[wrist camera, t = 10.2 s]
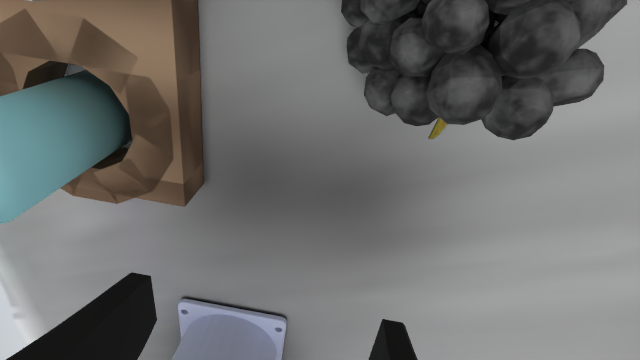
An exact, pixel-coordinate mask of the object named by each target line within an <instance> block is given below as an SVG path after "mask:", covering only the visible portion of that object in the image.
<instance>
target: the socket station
mask: <svg viewBox="0 0 640 360" xmlns="http://www.w3.org/2000/svg"><path fill="white" fill-rule="evenodd" d="M67 64H74V65H80V66H82V67H83V68H85V69H86V70H88V71H89V72H91V73H92V74H93V75H95V76H96V77H98V78H99V79H101V80H102V81H104V82H105V83H106V84H108V85H109V86H110V87H111V88H112V90H113V91H114V93H115V94H116V96H117V97H118V99H119V100H120V102H121V103H122V105H123V106H124V108H125V109H126V111H127V112H128V114H129V120H130V127H131V134H132V141H133V142H132V144H131V146H130V148H129V149H124V148H119V149H118V150H116V151H115V152H113V153H112V154H110V155H109V156H107V157H106V158H104V159H103V160H101V161H100V162H98V163H97V164H95V165H94V166H92V167H91V168H89V169H88V170H86V171H85V172H83V173H82V174H80V175H79V176H77V177H76V178H74V179H73V180H71V181H70V182H68V183H67V184H65V185H64V186H62V187H61V189H63V190H65V191H66V192H68V193H69V194H71V195H73V196H78V197H83V198H89V199H94V200H100V201H106V202H111V203H117V204H118V203H121V202H124V201H126V200H129V199H132V198H139V199H145V200H150V201H156V202H161V203H167V204H172V205H178V206H183V207H185V206H186V205H187V203H188V202H189V201H190V200H191V199H192V197H193V196H194V195H195V194H196V192H197V191H198V190H199V189H200V187H201V186H202V185H203V184H204V177H203V146H202V115H201V84H200V52H199V21H198V0H0V96H3V95H7V94H10V93H13V92H16V91H20V90H23V89H26V88H29V87H33V86H36V85H39V84H42V83H46V82H49V81H52V80H55V79H59V78H62V77H63V75H64V72H65V70H66V67H67Z"/></svg>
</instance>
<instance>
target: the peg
mask: <svg viewBox="0 0 640 360" xmlns="http://www.w3.org/2000/svg"><path fill="white" fill-rule="evenodd" d="M131 140H132V134H131V127H130V120H129V114H128V112H127V111H126V109H125V108H124V106H123V105H122V103H121V102H120V100H119V99H118V97H117V96H116V94H115V93H114V91H113V90H112V88H111V87H110V86H109V85H108V84H106V83H105V82H104V81H102V80H101V79H99V78H98V77H96V76H95V75H93V74H92V73H91V72H89V71H88V70H85V71H81V72H78V73H75V74H72V75H68V76H65V77H62V78H59V79H55V80H52V81H49V82H46V83H42V84H39V85H36V86H33V87H29V88H26V89H23V90H20V91H16V92H13V93H10V94H7V95H3V96H0V224H2V223H6V222H9V221H11V220H13V219H14V218H16V217H17V216H19V215H20V214H22V213H23V212H25V211H26V210H28V209H29V208H31V207H32V206H34V205H35V204H37V203H38V202H40V201H41V200H43V199H44V198H46V197H47V196H49V195H50V194H52V193H53V192H55V191H56V190H58V189H59V188H61V187H62V186H64V185H65V184H67V183H68V182H70V181H71V180H73V179H74V178H76V177H77V176H79V175H80V174H82V173H83V172H85V171H86V170H88V169H89V168H91V167H92V166H94V165H95V164H97V163H98V162H100V161H101V160H103V159H104V158H106V157H107V156H109V155H110V154H112V153H113V152H115V151H116V150H118V149H119V148H121V147H122V146H124V145H125V144H127V143H128V142H130V141H131Z"/></svg>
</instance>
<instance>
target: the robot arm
mask: <svg viewBox="0 0 640 360" xmlns="http://www.w3.org/2000/svg"><path fill="white" fill-rule="evenodd" d="M178 314H179V324H180V335H181V342H180V344H179V346H178V347H177V349H176V351H175V353H174V355H173V357H172V359H171V360H282V354H283V347H284V340H285V332H286V325H287V321H286V319H285V318H283V317H280V316H275V315H270V314H264V313H259V312H254V311H248V310H243V309H238V308H232V307H227V306H222V305H216V304H211V303H205V302H200V301H195V300H189V299H181V300H180V302H179V303H178ZM156 321H157V317H156V310H155V303H154V296H153V289H152V282H151V276H148V275H142V274H137V273H130V274H129V275H127V276H126V277H124V278H123V279H122V280H120V281H119V282H117V283H116V284H115V285H113V286H112V287H111V288H109V289H108V290H107V291H105V292H104V293H102V294H101V295H100V296H98V297H97V298H96V299H94V300H93V301H92V302H90V303H89V304H87V305H86V306H85V307H83V308H82V309H80V310H79V311H78V312H76V313H75V314H73V315H72V316H71V317H69V318H68V319H66V320H65V321H63V322H62V323H61V324H59V325H58V326H56V327H55V328H53V329H52V330H51V331H49V332H48V333H46V334H45V335H43V336H42V337H40V338H39V339H37V340H36V341H34V342H32V343H31V344H29V345H28V346H26V347H25V348H23V349H22V350H20V351H19V352H17V353H16V354H14V355H13V356H11V357H9V358H8V359H6V360H137V359H138V357H139V356H140V354H141V352H142V350H143V348H144V346H145V344H146V342H147V340H148V338H149V336H150V334H151V332H152V330H153V327H154V325H155V323H156ZM369 360H418V359H417V357H416V354H415V352H414V349H413V347H412V344H411V341H410V339H409V336H408V333H407V330H406V327H405V325H404V324H403V323H401V322H395V321H390V320H385V319H382V322H381V325H380V328H379V331H378V334H377V337H376V340H375V343H374V345H373V348H372V351H371V354H370V357H369Z"/></svg>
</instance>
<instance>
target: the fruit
mask: <svg viewBox="0 0 640 360" xmlns="http://www.w3.org/2000/svg"><path fill="white" fill-rule="evenodd" d="M626 4H627V0H342V9H341V12H342V14H343V16H344V17H345V19H346V20H347V22H348V23H349V24H350V25H351V26H354V27H356V29H354V30H353V32H352V33H351V34H350V35H349V37H348V38H347V53H348V61H349V64H351V65H352V66H353V67H355V68H356V69H357V70H359V71H360V72H361V73H368V72H370V74H369V75H368V76H367V77H366V83H365V91H364V96H365V98H366V100H367V102H368V104H369V106H370V107H371V108H372V109H374V110H376V111H378V112H380V113H382V114H384V115H386V116H388V115H391V114H394V113H396V114H397V115H398V116H399V117H400V119H401V120H402V121H403V122H404V123H407V124H411V125H414V126H421V125H428V124H430V123H432V122H433V121H434V120H435V119H437V118H438V117H439V118H438V120H437V122H436V124H435V126H434V128H433V130H432V132H431V134H430V136H429V139H434V138H435V137H436V136H438V135H439V134H440V133H441V131H442V130H443V129H444V128H445V127H446V125H447V124H461V125H465V124H468V123H471V122H474V121H477V120H480V119H481V120H482V122H483V124H484V126H485V128H486V129H488V130H489V131H490V132H492V133H493V134H495V135H496V136H498V137H502V138H506V139H510V140H516V139H520V138H525V137H529V136H531V135H532V134H534V133H535V132H536V131H537V130H538V129H540V128H541V127H542V126H543V125H544V124H545V123H546V122H547V120H548V119H549V117H550V115H551V113H552V111H553V107H554V106H559V105H565V104H570V103H576V102H580V101H582V100H584V99H586V98H588V97H590V96H592V95H593V93H594V92H595V90H596V89H597V88H598V86H599V85H600V84H601V82H602V81H603V76H604V65H603V63H602V62H601V60H600V58H599V57H598V55H597V53H595V52H592V51H590V50H588V49H578V48H579V47H580V46H582V45H583V44H584V43H586V42H587V41H588V40H589V39H591V38H592V37H593V36H595V35H596V34H597V33H598V32H599V31H600V30H601V29H602V28H603V27H604V25H605V24H606V23H607V22H608V21H609V20H610V19H611V18H612V17H614V16H615V15H616V14H617V13H618V12H619V11H620V10H621V9H622V8H623V7H624V6H625V5H626ZM495 20H497V21H498V23H499V24H498V25H497V26H496V27H494V23H495Z"/></svg>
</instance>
